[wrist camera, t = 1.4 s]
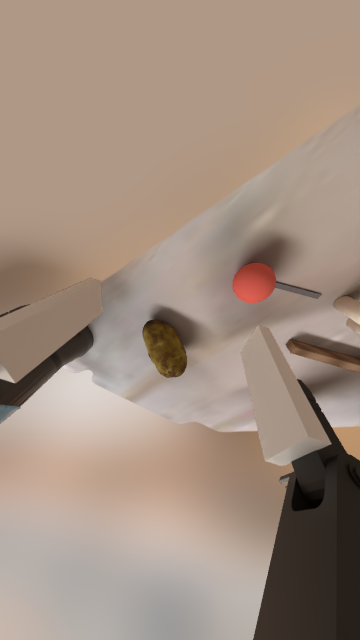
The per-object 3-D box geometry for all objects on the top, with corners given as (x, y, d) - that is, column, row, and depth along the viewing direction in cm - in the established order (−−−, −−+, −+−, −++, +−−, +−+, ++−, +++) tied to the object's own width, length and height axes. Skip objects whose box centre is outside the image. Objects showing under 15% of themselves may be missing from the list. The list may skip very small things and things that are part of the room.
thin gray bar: (270, 285, 26) (271, 286, 26) (273, 281, 26) (273, 282, 25) (316, 298, 26) (317, 298, 26) (320, 294, 25) (321, 294, 25)
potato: (178, 311, 32) (170, 334, 25) (192, 355, 38) (188, 383, 32) (144, 317, 34) (128, 339, 28) (162, 357, 41) (152, 384, 34)
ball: (225, 289, 28) (228, 303, 23) (239, 254, 24) (246, 262, 19) (257, 297, 27) (267, 314, 22) (276, 264, 24) (292, 275, 19)
